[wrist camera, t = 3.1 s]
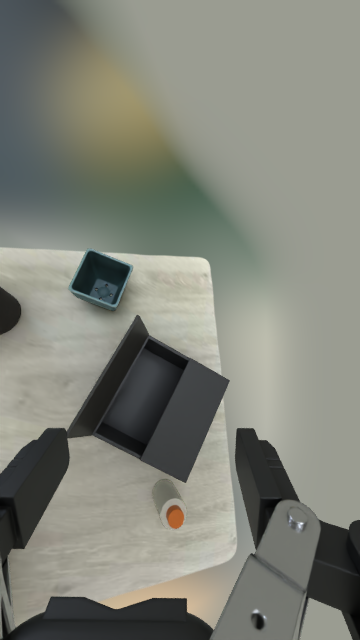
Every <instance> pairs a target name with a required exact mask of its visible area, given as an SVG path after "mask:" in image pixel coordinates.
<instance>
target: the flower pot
mask: <svg viewBox="0 0 360 640" xmlns="http://www.w3.org/2000/svg"><path fill="white" fill-rule="evenodd" d="M132 270H133V266H132V265H130V264H128V263H125V262H123V261H120V260H117V259H115V258H113V257H110V256H108V255H105V254H103V253H100V252H98V251H96V250H94V249H90V248H88V249H87V250H86V252H85V254H84V256H83V259H82V261H81V263H80V265H79V267H78V269H77V271H76V273H75V275H74V277H73V279H72V281H71V283H70V285H69V288H68V289H69V291H71V292H72V293H73V294H74V295H75V296H76V297H77V298H80V299H82V300H85V301H88V302H90V303H93V304H96V305H98V306H101V307H104V308H106V309H109V310H111V311H115V310H116V308H117V306H118V304H119V301H120V298H121V296H122V294H123V291H124V289H125V286H126V284H127V282H128V279H129V277H130V275H131V272H132ZM105 285H108V287H106V286H105ZM96 288H97V289H98V290H97V291H96V290H95V289H96ZM110 294H112V295H113V296H110ZM100 298H102V300H100Z"/></svg>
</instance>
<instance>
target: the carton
mask: <svg viewBox="0 0 360 640" xmlns="http://www.w3.org/2000/svg"><path fill="white" fill-rule="evenodd" d="M228 383H229V380H228V379H226V378H225V377H223V376H221V375H219V374H218V373H216V372H214V371H212V370H211V369H209V368H207V367H205V366H204V365H202V364H200V363H198V362H197V361H195V360H193V359H191V358H188V357H186V356H185V355H183V354H181V353H179V352H178V351H176V350H174V349H172V348H171V347H169V346H167V345H165V344H164V343H162V342H160V341H158V340H157V339H155V338H153V337H151V336H150V335H149V336H148V337H147V339H146V341H145V343H144V344H143V346H142V348H141V350H140V351H139V353H138V355H137V357H136V358H135V360H134V362H133V364H132V365H131V367H130V369H129V371H128V372H127V374H126V376H125V378H124V379H123V381H122V383H121V385H120V386H119V388H118V390H117V392H116V393H115V395H114V397H113V399H112V400H111V402H110V404H109V406H108V408H107V409H106V411H105V413H104V415H103V416H102V418H101V420H100V422H99V423H98V425H97V427H96V429H95V430H94V432H93V434H92V435H93V436H95V437H97V438H99V439H101V440H103V441H105V442H107V443H109V444H111V445H113V446H115V447H117V448H119V449H121V450H123V451H125V452H127V453H129V454H131V455H133V456H135V457H137V458H139V459H140V460H141V461H143V462H145V463H147V464H149V465H151V466H153V467H155V468H157V469H159V470H161V471H163V472H165V473H167V474H169V475H171V476H173V477H175V478H177V479H179V480H181V481H183V482H185V483H186V481H187V479H188V477H189V474H190V472H191V470H192V467H193V465H194V463H195V460H196V458H197V456H198V453H199V451H200V449H201V446H202V444H203V442H204V439H205V437H206V435H207V432H208V430H209V428H210V425H211V423H212V421H213V418H214V416H215V414H216V411H217V409H218V407H219V405H220V402H221V400H222V398H223V395H224V393H225V391H226V388H227V386H228Z"/></svg>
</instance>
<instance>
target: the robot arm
mask: <svg viewBox="0 0 360 640" xmlns="http://www.w3.org/2000/svg"><path fill="white" fill-rule="evenodd" d="M69 459H70V456H69V448H68V440H67V433H66V430H65V428H47V429H46V430H45V431H44V432H43V434H42V435H41V436H40V437H39V439H38V440H33V441H31V442H30V443H29V444H27V445H26V446H25V447H23V448H22V449H21V450H20V451H19V453H18V454H17V455H16V456H15V457H14V460H12V461H11V462H10V463H9V465H8V466H7V468H5V469H4V471H3V472H2V473H1V474H0V640H300V637H301V632H302V628H303V623H304V619H305V615H306V610H307V606H308V602H309V598H312V599H314V600H317V601H319V602H322V603H324V604H327V605H329V606H331V607H334V608H336V609H339V610H341V611H342V614H343V616H344V619H345V621H346V624H347V626H348V629H349V631H350V634H351V636H352V639H353V640H360V520H357V521H354V522H352V524H350V527H349V530H347V529H344V528H341V527H338V526H335V525H331V524H328V523H325V522H323V521H321V520H319V519H318V518H317V516H316V515H315V513H314V512H313V511H312V510H311V509H310V508H309V507H307V506H306V505H304V504H303V503H301V502H300V501H299V499H298V496H297V494H296V492H295V490H294V488H293V486H292V484H291V482H290V480H289V477H288V475H287V473H286V471H285V469H284V467H283V465H282V462H281V461H280V458H279V456H278V454H277V452H276V450H275V448H274V447H273V446H272V445H271V444H270V443H269V442H268V441H266V440H258V437H257V435H256V432H255V430H254V429H253V428H238V429H237V433H236V451H235V463H236V471H237V475H238V479H239V483H240V487H241V491H242V495H243V500H244V504H245V507H246V512H247V516H248V520H249V524H250V528H251V532H252V536H253V541H254V544H255V548H256V552H255V554H254V555H253V554H252V553H251V554H250V555H249V556H248V558H247V560H246V562H245V564H244V566H243V568H242V571H241V573H240V575H239V577H238V579H237V581H236V583H235V586H234V588H233V590H232V592H231V594H230V596H229V599H228V601H227V603H226V605H225V607H224V610H223V612H222V614H221V616H220V618H219V620H218V623H217V625H216V627H215V629H214V630H213V629H212V628H211V627H210V626H209V625H208V624H207V623H205V622H204V621H203V620H201V619H200V618H198V617H196V616H195V615H192V614H190V613H187V599H186V598H183V599H181V598H152V599H149V600H146V601H142V602H139V603H136V604H133V605H130V606H127V607H124V608H121V609H113V608H110V607H108V606H105V605H103V604H100V603H98V602H95V601H93V600H90V599H88V598H85V597H51V598H50V601H49V603H48V606H47V608H46V611H45V612H43V613H40V614H38V615H36V616H34V617H32V618H30V619H28V620H27V621H25V622H23V623H22V624H20V625H19V626H18V627H15V621H14V613H13V601H12V588H11V576H10V564H9V558H8V554H9V553H10V551H11V549H24V548H25V546H26V545H27V543H28V541H29V539H30V537H31V535H32V534H33V532H34V530H35V528H36V526H37V524H38V523H39V521H40V519H41V517H42V515H43V513H44V511H45V510H46V508H47V506H48V504H49V502H50V500H51V499H52V497H53V495H54V493H55V491H56V489H57V488H58V486H59V484H60V482H61V480H62V478H63V476H64V475H65V473H66V471H67V468H68V465H69Z"/></svg>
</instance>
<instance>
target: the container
mask: <svg viewBox="0 0 360 640" xmlns="http://www.w3.org/2000/svg"><path fill="white" fill-rule="evenodd" d="M20 314H21V308H20V304H19V302H18V301H17V300H16V299H15V298H14V297H13V296H12V295H11V294H9V293H8V292H6V291H5V290H4V289H2V288H1V287H0V334H3V333H5V332H7V331H9V330H10V329H11V328H13V327H14V326H15V324H16V323H17V322H18V320H19V318H20Z"/></svg>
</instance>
